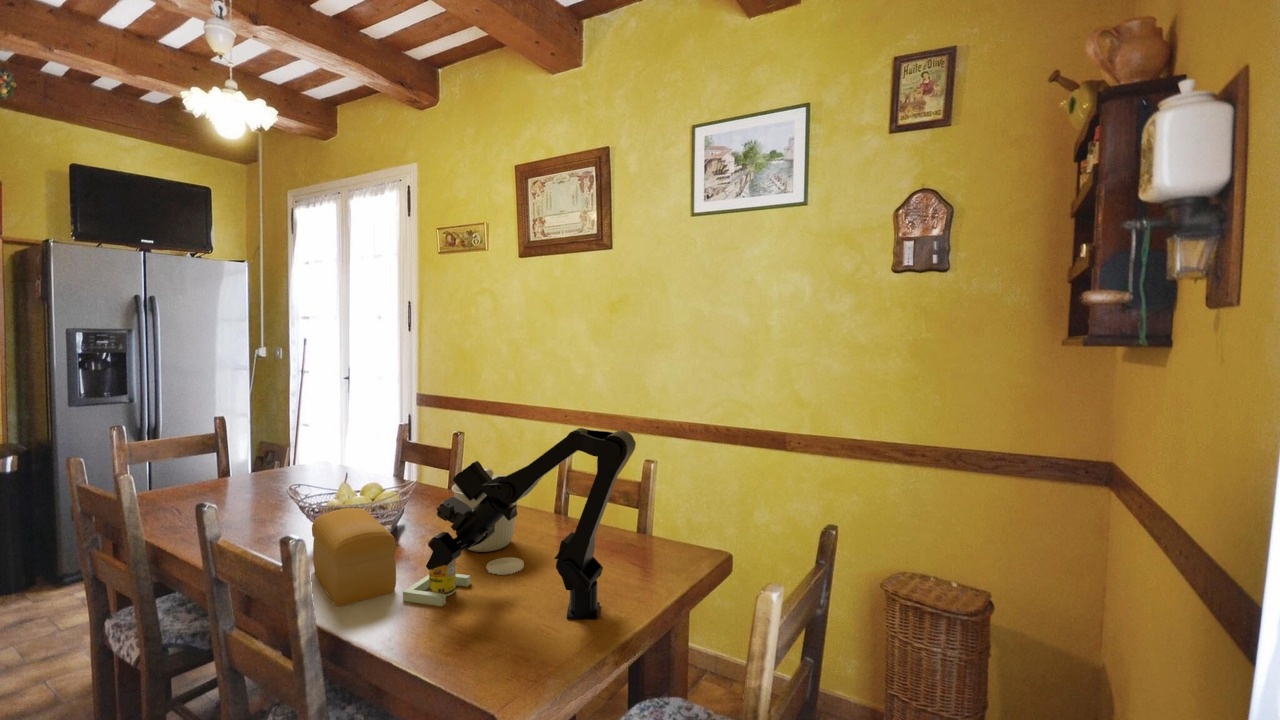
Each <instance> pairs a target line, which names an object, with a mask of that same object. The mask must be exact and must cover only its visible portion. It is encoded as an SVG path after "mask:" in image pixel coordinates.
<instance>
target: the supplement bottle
mask: <svg viewBox="0 0 1280 720" xmlns="http://www.w3.org/2000/svg"><path fill="white" fill-rule="evenodd" d="M456 560H457V559H456ZM456 560H455V561H453V562H452V563H450V564H449V565H447V566H446V565H444V566H440V567H437V568H434V569H431V570H428V571H429V573H428V575H429V588H428V589H429V592H433V593H441V594H446V597H448V596H451V595H453V594H454V593H455V591H456V589H457V588H456V587H457V585H456V574H457V573H456V572H457V571H456V568H457V567H456V564H457V563H456Z"/></svg>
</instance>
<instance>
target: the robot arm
mask: <svg viewBox="0 0 1280 720" xmlns="http://www.w3.org/2000/svg"><path fill="white" fill-rule="evenodd" d="M635 449H636V441H635V439H634V436H633V435H632V434H631V433H630V432H628V431H626V430H617V431H615V432H612V431H608V430H607V431H605V430H595V429H594V430H593V429H587V428H583V427H578V428H576V429H575V430H573V431H570V432H569V433H568V434H567V435H566V436H565V437H563V439H561V440H559V441H558V443H556V444H555V445H553V446H552V447H551V448H549V449H548V450H547V451H545V452H544V453H542V455H540V456H538V457H537V458H536V459H534V460H533V461H532V462H531V463H530V464H528V465H526V466H524V467H522V468H519V469H518V470H516V471H514V472H512V473H509V474H508V475H504V476H499V477H497V478H495V479H493V480H492V478H491V477H490V476H489V475H488V473H487V472H486V471H485V470H484V469H485V468H484V467H483V466H482V464H481V463H480V462H479V461H478V460H475V461H473V462H472V463H471V464H470V465H468V466H467V467H465V468H464V469H463V470H462V471H461V472H458V473H457V474H456V475H455V476H454V477H453V478H452V482H453V483H454V485H455V484H456V486H457V487H458V488H459V489H460V490H461V492H462V493H463V494H464V495H465V496H466V498H467V499H468V500H470V501H471V500H473V499H475V501H477V500H479V499H480V498H482V497H483V496H484V495H485V494H486V495H487V496H486V497H485V498H484V499H483V500H482V501H481V502H480V503H479V504H478V505H477V506H476V507H474V508H473V509H472V508H470V507H469V506H468V505H467V504H465V503H464V502H462V501H460V500H459V499H457V498H455V496H451V497H449V498H447V499H445V500H443V501H442V502H441V503H440V505H439V506H437V507H436V511H437V513H436V516H437V517H438V518H439V519H441V520H443V521H444V522H447V521H448V522H449V523H451V524H452V525H450V528H451V529H452V530H453V531H455V534H456V537H453V536H452V534H450V532H447V531H441V532H440V533H438V534H437V535H435V536H433V537H432V538H431V539H430V540H429V541H428V542H427V545H428V547H429V549H430V550H431V551H432V553H431V555H430V557H429V559H428V562H427V563H426V565H425V567H426V569H427V570H428V571H429V570H431V569H434V568H437V567H440V566H444V565H446V566H447V565H449V564H450V563H452V562H453V561H455V560H457V559H458V558H459V557H460V556H461V555H462V552H463V551H465V550H468V549H467V548H470V547H472V546H475V545H477V544H480V543H481V542H483V541H484V540H486V539H487V538H489V537H490V536H491V535H492V534H493V533H494V532H495V524H496V523H497V522H498V521H499V520H500V519H501V518H502V517H503V516H505V518H506V519H507V520H508V521H510V520H511V519H513V518H514V517H515V518H516V517H517V516H518V510H517V507H518V504H517V505H513V503H515V502H516V501H517V502H518V501H519V500H522V499H523V498H524V497H526V496H528V494H529V493H531V491H532V490H533V489H534V488H535V487H536V486H537V485H538V483H539V482H540V481H541V480H542V478H544V476H545V475H547V474H549V472H551V471H553V470H554V469H555V468H557V467H558V466H559V465H561V464H562V463H563V462H565V461H566V460H567V459H569V458H570V457H572V456H573V455H575V454H576V453H577V452H578V451H579V452H583V453H585V454H587V455H590V456H592V457H595V458H596V457H597V460H596V463H597V464H596V465H597V466H596V469H597V470H596V474H595V477H594V481H593V483H592V486H591V487H590V491H589V493H588V496H587V500H585V501H586V502H585V504H584V507H583V509H582V513H581V515H580V516H579V517H580V518H579V520H578V522H577V525H576V528H575V531H574V532H573V531H571V532H569V534H568V535H567V536H565V537H564V538H563V539H562V540H561V542H560V544H559V549H558V552H557V555H556V556H554V560H556V562H555V569H556V570H557V573H558V574H559V575H560V577H561V580H562V583H563V586H564V588H565V590H566V591H569V603H568V606H567V613H566V619H569V620H571V619H573V620H574V619H575V620H577V619H582V620H583V619H587V620H588V619H589V620H590V619H592V620H594V619H595V620H597V619H599V615H600V607H601V602H600V601H599V602H598V581H597V580H598V579H599V578H600V576H601V575H602V573H603V570H604V567H603V565H601V563H600V562H599V561H598V560H597V559H596V557H595V556H594V553H595V549H596V534H597V531H598V529H599V526H600V524H601V521H602V517H603V516H604V513H605V510H606V508H607V505H608V502H609V500H610V497H611V494H612V492H613V490H614V486H615V484H616V481H617V478H618V477H619V475H620V473H621V472H622V470H623V469H624V467H625V466H626V465H627V463H628V462H629V460H630V459H631V456H632V455H633V453H634V451H635ZM484 535H485V536H484Z"/></svg>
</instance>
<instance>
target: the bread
mask: <svg viewBox="0 0 1280 720" xmlns="http://www.w3.org/2000/svg"><path fill="white" fill-rule="evenodd" d="M311 533H312V537H313V544H312V545H313V546H312V558H313V559H312V560H313V568H314V574H315V575H317V576H316V577H317V580H318V581H319V582H320V584H321V585H322V587H323V589H324V590H325V592H326V593H327V595H328V596H329V598H330V600H331V602H332V603H333V604H334V605H335V606H336V607H343V606H347V605H352V604H355V603H356V604H357V603H359V602H363V601H366V600H367V601H368V600H370V599H374V598H378V597H382V596H386V595H389V594H393V593H394V592H395V590H396V585H397V566H396V565H397V563H396V557H395V555H396V551H397V541H396V539H395V537H394V536H393V534H392V533H391V532H390V531H389V530H388V529H387V528H386V527H384V525H382V523H380V522H379V520H377V519H376V518H375V517H374V516H373V515H371V514H370V513H369V512H368V511H367V510H366V509H363V508H359V507H358V508H356V507H353V508H352V507H350V508H348V507H347V508H340V509H337V510H333V511H329V512H326V513H324V514H321V515H320V516H318V517H317V518H316V519H315V520H314V521H313V522H312V524H311Z"/></svg>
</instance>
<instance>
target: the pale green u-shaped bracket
mask: <svg viewBox="0 0 1280 720" xmlns="http://www.w3.org/2000/svg"><path fill="white" fill-rule="evenodd" d="M470 585H472V584H471V575H469V574H468V575H467V574H462V573H456V586H459V587H465V586H466V587H465V588H468V587H469V586H470ZM428 589H429V574H427V575H426V576H424V577H423V578H422V579H419V580H418V581H416V583H413V584H412V585H411V586H409V587H408V588H406V589H405V590H403V591H402V602H403V601H404V602H409V603H416V604H423V605H430V606H435V607H443V606H444V605H446V604H447V602H446V600H447V599H446V598H447V596H446V594H441V593H433V592H430V591H426V590H428Z"/></svg>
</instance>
